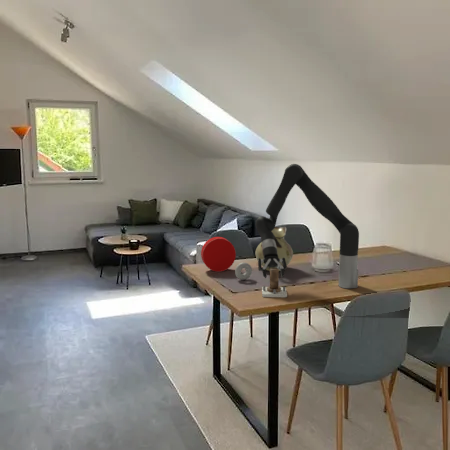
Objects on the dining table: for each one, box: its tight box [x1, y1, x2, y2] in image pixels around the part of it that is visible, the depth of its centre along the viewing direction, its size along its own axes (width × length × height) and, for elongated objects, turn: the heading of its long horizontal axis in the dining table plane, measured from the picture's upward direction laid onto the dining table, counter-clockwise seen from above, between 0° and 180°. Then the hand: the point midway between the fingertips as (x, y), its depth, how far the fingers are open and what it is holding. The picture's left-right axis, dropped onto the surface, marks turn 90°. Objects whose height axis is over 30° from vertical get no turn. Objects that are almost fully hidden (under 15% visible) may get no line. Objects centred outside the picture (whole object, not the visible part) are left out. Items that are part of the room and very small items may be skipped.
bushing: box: [266, 268, 281, 292], centre depth 234 cm, size 7×7×11 cm
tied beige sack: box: [254, 226, 294, 272], centre depth 281 cm, size 22×24×25 cm
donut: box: [234, 262, 253, 281], centre depth 259 cm, size 10×4×10 cm, turn 113°
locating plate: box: [261, 285, 288, 298], centre depth 235 cm, size 12×12×4 cm
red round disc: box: [200, 236, 237, 273], centre depth 279 cm, size 20×6×20 cm, turn 103°
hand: (274, 276), depth 234 cm, fingers open, 8 cm apart
